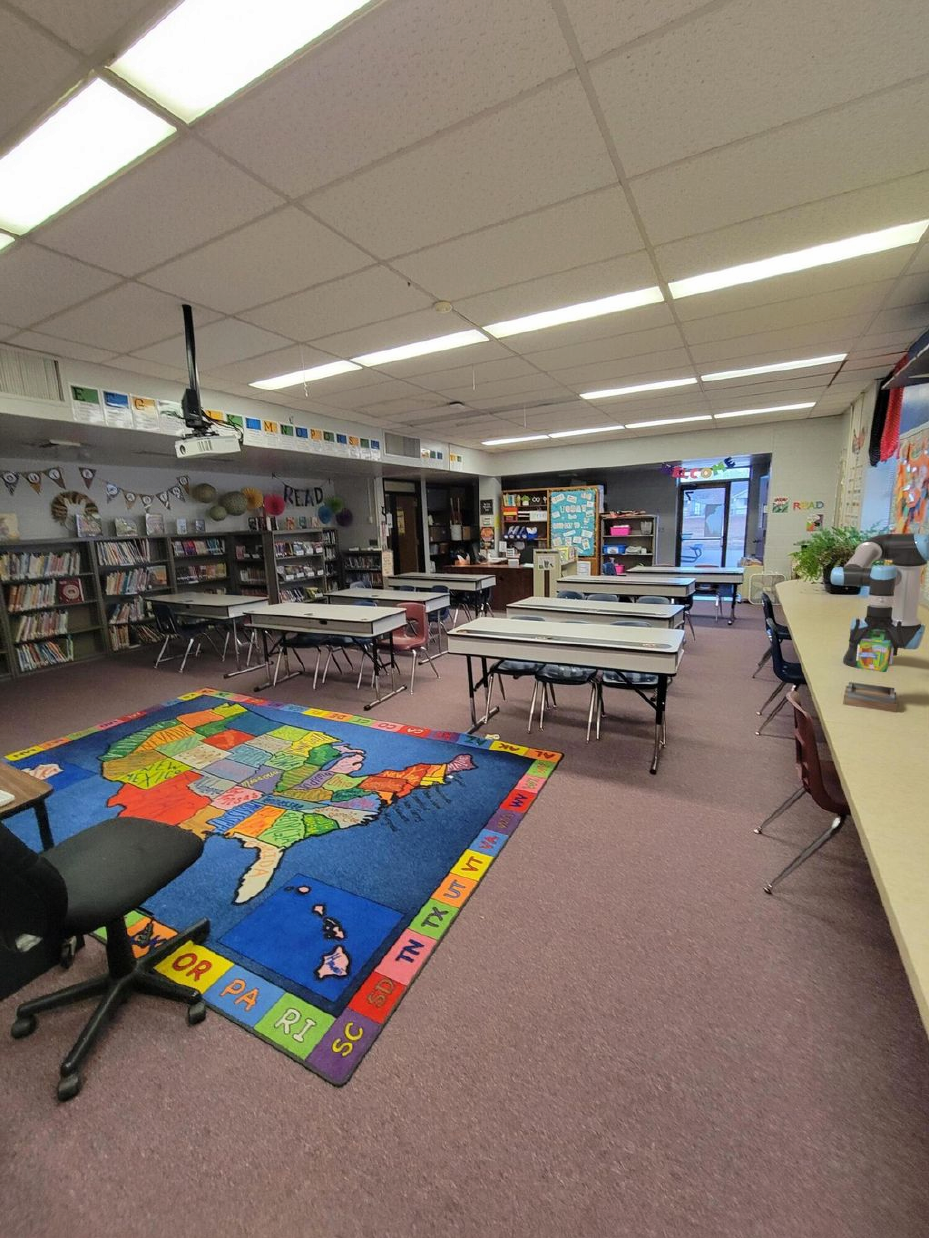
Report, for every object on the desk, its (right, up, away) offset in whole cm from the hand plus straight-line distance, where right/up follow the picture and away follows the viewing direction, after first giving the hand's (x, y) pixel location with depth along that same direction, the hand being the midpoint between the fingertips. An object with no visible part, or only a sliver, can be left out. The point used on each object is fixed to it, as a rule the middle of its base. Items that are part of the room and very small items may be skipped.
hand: (873, 661), depth 194 cm
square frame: (+1, -17, +3) cm, 17 cm away
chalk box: (0, -3, +1) cm, 3 cm away
